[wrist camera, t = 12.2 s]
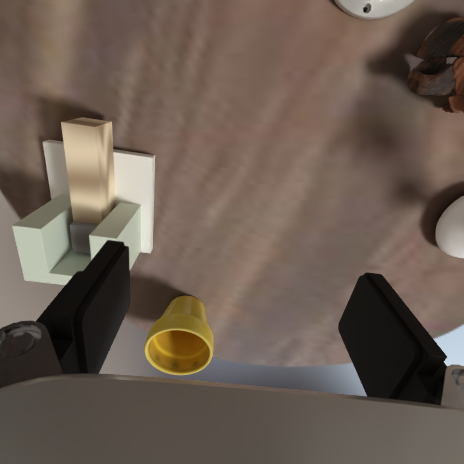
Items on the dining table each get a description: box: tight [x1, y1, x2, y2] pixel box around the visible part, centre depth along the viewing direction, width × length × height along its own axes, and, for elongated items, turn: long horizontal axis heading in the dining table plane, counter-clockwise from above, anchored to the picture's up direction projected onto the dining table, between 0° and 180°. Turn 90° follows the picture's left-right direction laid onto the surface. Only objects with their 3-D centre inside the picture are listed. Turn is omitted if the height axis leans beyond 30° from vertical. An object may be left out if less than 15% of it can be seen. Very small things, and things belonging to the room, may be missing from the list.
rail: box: [61, 117, 116, 254], centre depth 36 cm, size 16×4×6 cm, turn 172°
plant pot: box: [144, 296, 213, 375], centre depth 47 cm, size 10×10×10 cm
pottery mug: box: [407, 17, 464, 113], centre depth 32 cm, size 12×9×8 cm
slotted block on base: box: [12, 140, 155, 285], centre depth 37 cm, size 15×14×12 cm
